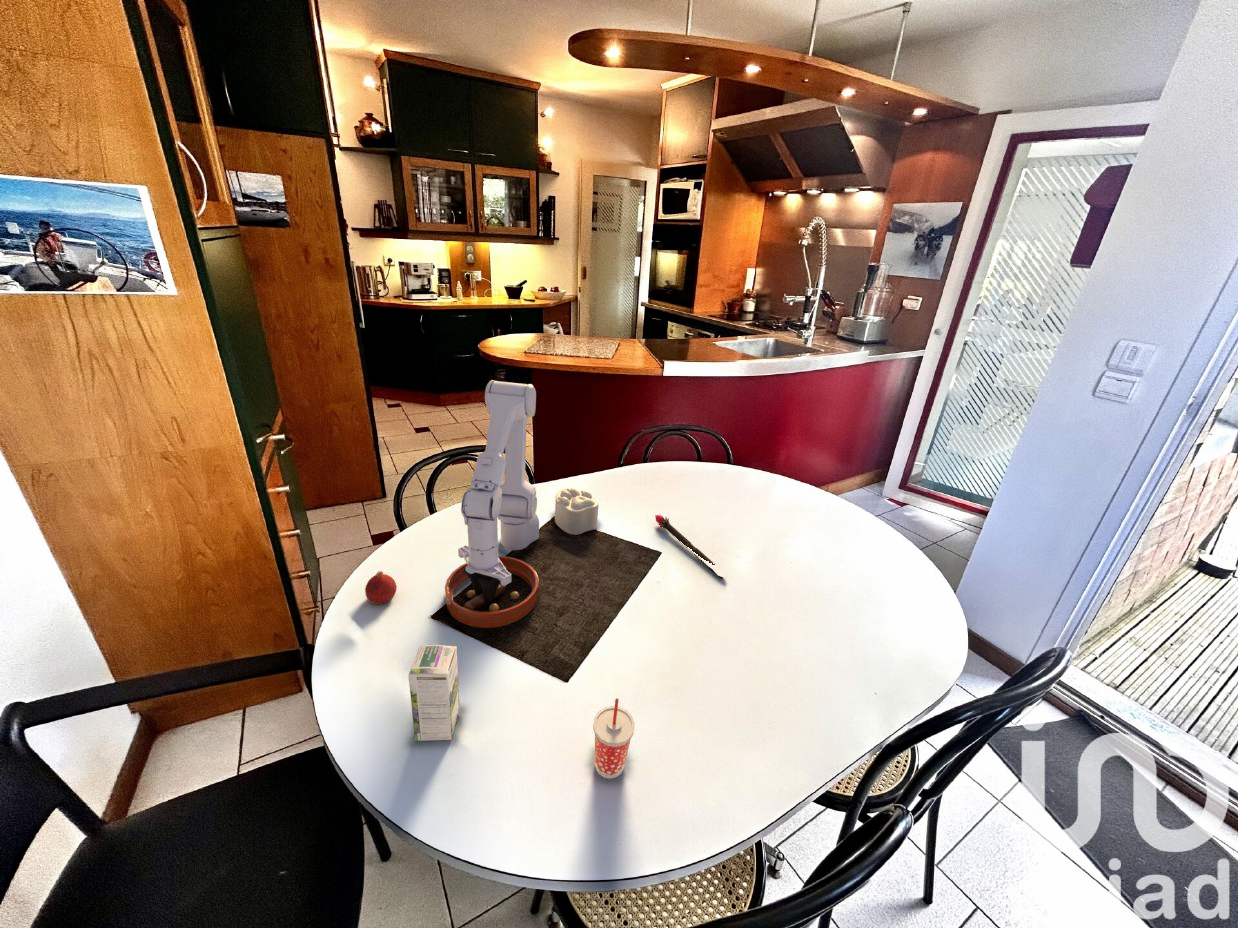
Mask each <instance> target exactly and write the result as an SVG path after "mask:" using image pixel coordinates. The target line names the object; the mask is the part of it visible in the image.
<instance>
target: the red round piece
mask: <svg viewBox="0 0 1238 928" xmlns="http://www.w3.org/2000/svg"><path fill="white" fill-rule="evenodd" d="M397 587H398V586H397V582H396V581H395V579H394V578H393V577H392V576H390V575H388V574H385V573H384V572H383V571H382V570H379V571H376V574H375V575H373V576H372V577H370V579H369V580H368V581H367V583H366V585H365V588H364V593H365V597H366V599H367V600H368V601H369V602H370V603H371V604H375V605H383V604H385V603H388V602H390V601H391V600H392V599H393V598H394V597H395V595H396V592H397Z"/></svg>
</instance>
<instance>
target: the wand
mask: <svg viewBox="0 0 1238 928" xmlns="http://www.w3.org/2000/svg"><path fill="white" fill-rule="evenodd" d="M654 516H655V517H654V518H655V522H656V523H657V524H658V525H659V526H660V527H659V528H660V529H665V530H666V531H667V532H668V533H670V535H672V536H673V537H674V536H675V537H676V538H677V539H678V540H677V539H676V538H675V537H674V538H675V539H676V540H677V541H678V542H680V541H681V542H682V543H683V544H684V545H686V546H687V547H689V548H690V549H692V551H693V552H695V553H696V554H698V556H700V557H701V558H703V559H704V560H706V561H709V563H712V565H715V564H716V563H714V561H713V560H711V559H710V558H709V557H708V556H707V555H706V554H704V553H703V552H702V551H701V550H700V549H699V548H697V547H696V546H694V545H693V544H692V542H691V541H690V540H689V539H687V538H686V537H685V536H684V535H683V534H682V533H681V532H680V531H679V530H677V528H675V527H674V526H673V525H672V524H671V523H670V519H669V517H667V516H665V517H664V516H663V515H661V514H655V515H654ZM662 527H663V528H662ZM681 542H680V543H681ZM682 543H681V544H682ZM683 544H682V545H683ZM684 545H683V546H684ZM687 547H685V548H687ZM687 549H688V548H687ZM692 551H690V552H691V553H692ZM693 555H694V556H695V557H696V558H697V559H698V560H699V561H700V562H702V560H700V559H699V558H698V557H697V556H696V555H695V554H693ZM713 563H714V564H713ZM702 564H704V562H702ZM706 567H707V568H708V566H706Z"/></svg>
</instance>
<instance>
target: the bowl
mask: <svg viewBox="0 0 1238 928" xmlns="http://www.w3.org/2000/svg"><path fill="white" fill-rule="evenodd" d="M498 558H499V559H500V561H501V562H502V564H503V565H504V567H505V568H506V570H507V571H508V572H509V573H510V574H511V575H514V576H517V577H519V578H521V579H522V580H524V581H525V582H526V583H527V584H528V585H529V587H530V590H531V593H530V594H529V595H528V596H527V597H526V598H525V599H524V600H523V601H520V602H519V603H517V604H516V605H514V606H510V607H507V608H505V609H501V610H499V609H498V610H497V611H494V612H491V611H480V610H479V611H478V610H475V611H473V610H469V609H467V608H464V606H461V605H459V604H458V603H457V602H455V600H454V597H455V596H454V595H455V593H456V591H457V590H458V588H459V587H460V586H461V585H463V584H464V583H465V582H466V581H468V580H470V579H469V577H468V576H467V574H466V573H465V572H464V568H465V567H466V566H468V565H467V563H466V562H465V563H463V564H461V565H459V566H458V567H457V568H455V569H454V570H453V571H452V572H451V573H450V575H449V576H448V577H447V579H446V582H445V585H444V595H445V596H444V597H445V605H446V609H447V611H448V613H449V614H450V616H451V617H452V618H454V620H456V621H457V622H460V623H461V624H464V625H466V626H469V627H475V628H481V629H483V628H484V629H486V628H487V629H490V628H499V627H503V626H508V625H510V624H513V623H515V622H518V621H519V620H521V619H523V618H524V617H525V616H527V615H529V613H530V612H531V611H532V610H533V608H535V606H536V604H537V602H538V599H539V576H538V574H537V572H536V570H535V569H534V568H533V567H532V566H531V565H530V564H528V563H527V562H526V561H523V560H522V559H518V558H515V557H512V556H506V555H498Z"/></svg>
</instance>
